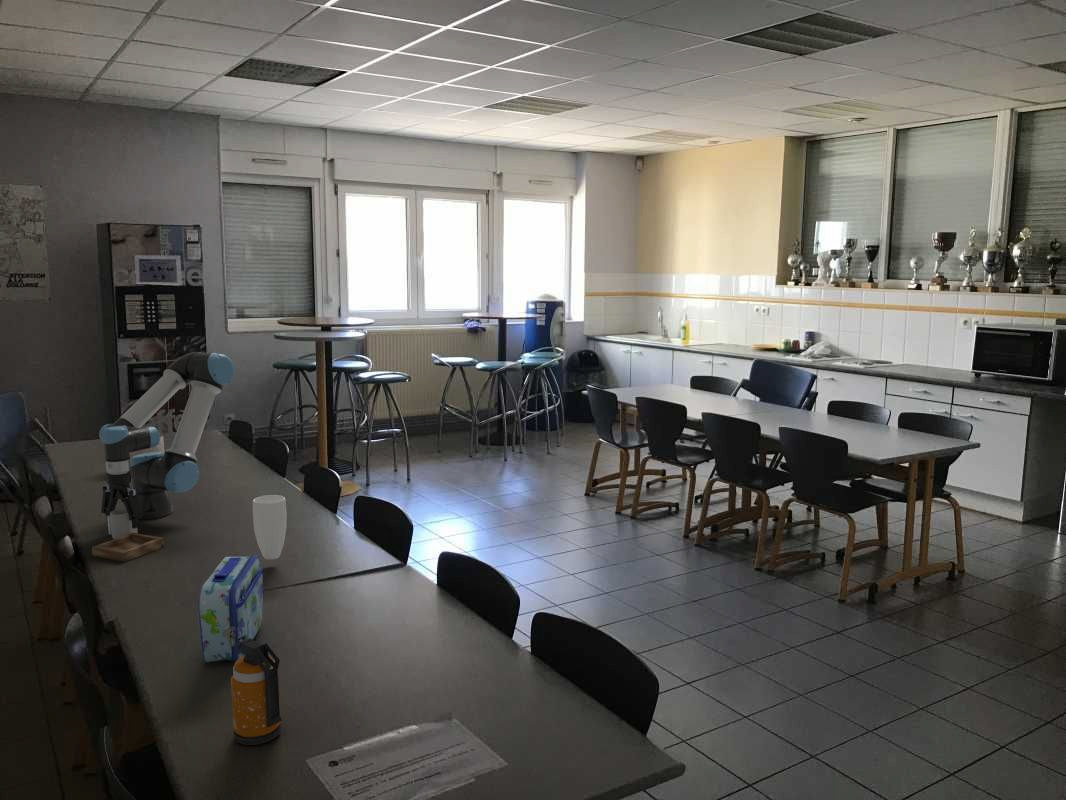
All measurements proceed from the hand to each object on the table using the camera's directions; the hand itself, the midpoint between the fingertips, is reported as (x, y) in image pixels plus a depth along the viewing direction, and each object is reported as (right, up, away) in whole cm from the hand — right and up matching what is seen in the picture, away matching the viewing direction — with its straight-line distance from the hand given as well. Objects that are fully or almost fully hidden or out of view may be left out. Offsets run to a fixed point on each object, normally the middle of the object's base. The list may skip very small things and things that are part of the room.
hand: (123, 535), depth 293 cm
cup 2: (+60, -5, -29) cm, 67 cm away
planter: (-35, +15, +92) cm, 100 cm away
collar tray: (+9, -3, -16) cm, 19 cm away
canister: (+88, -21, -124) cm, 153 cm away
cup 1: (0, 0, 0) cm, 0 cm away
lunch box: (+68, -14, -84) cm, 109 cm away
